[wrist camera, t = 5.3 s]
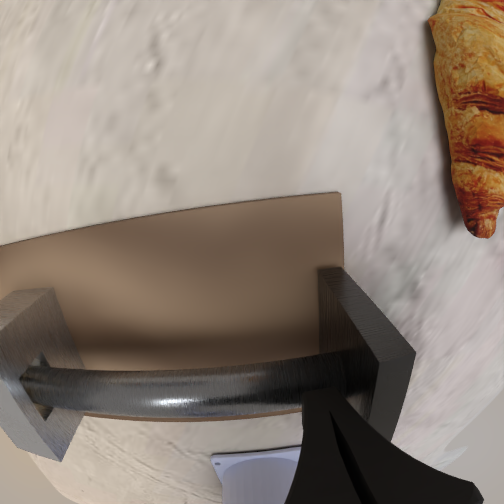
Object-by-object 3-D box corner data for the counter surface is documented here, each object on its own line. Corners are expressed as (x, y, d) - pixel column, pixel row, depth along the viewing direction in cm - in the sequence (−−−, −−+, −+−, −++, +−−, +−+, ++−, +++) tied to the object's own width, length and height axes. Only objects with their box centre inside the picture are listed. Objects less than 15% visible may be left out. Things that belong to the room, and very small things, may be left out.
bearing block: (96, 390, 17) (61, 462, 10) (56, 386, 17) (17, 447, 10) (53, 286, 15) (-16, 345, 8) (13, 290, 15) (-51, 340, 8)
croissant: (421, -22, 12) (418, -84, 5) (523, 16, 9) (548, -32, 2) (399, 210, 18) (411, 214, 11) (518, 254, 14) (574, 280, 7)
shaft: (338, 374, 16) (378, 472, 9) (78, 389, 16) (36, 467, 9) (340, 266, 14) (416, 352, 7) (38, 299, 14) (-36, 366, 7)
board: (336, 399, 18) (338, 404, 18) (25, 399, 18) (22, 403, 18) (337, 191, 14) (341, 193, 14) (-38, 256, 14) (-42, 258, 14)
